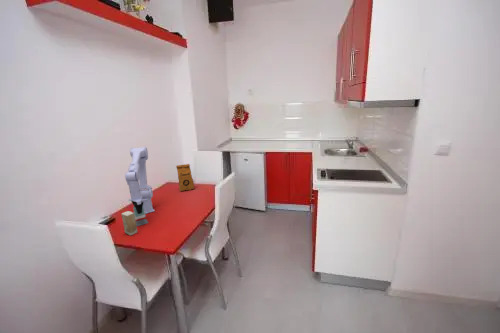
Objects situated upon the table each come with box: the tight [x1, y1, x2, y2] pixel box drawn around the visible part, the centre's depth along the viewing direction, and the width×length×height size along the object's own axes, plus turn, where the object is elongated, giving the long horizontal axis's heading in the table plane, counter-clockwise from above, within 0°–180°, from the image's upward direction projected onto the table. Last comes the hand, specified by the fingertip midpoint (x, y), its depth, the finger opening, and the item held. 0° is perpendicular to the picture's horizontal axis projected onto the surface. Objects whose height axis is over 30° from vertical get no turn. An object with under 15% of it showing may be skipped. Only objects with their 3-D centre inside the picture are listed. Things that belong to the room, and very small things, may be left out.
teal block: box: [132, 205, 146, 217], centre depth 148 cm, size 5×5×5 cm
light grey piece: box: [134, 211, 146, 221], centre depth 150 cm, size 13×12×4 cm
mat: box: [136, 218, 149, 227], centre depth 150 cm, size 7×7×1 cm
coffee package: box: [175, 163, 195, 192], centre depth 203 cm, size 10×12×22 cm
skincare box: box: [121, 210, 138, 236], centre depth 137 cm, size 6×4×12 cm
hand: (139, 212), depth 148 cm, fingers closed on teal block, 5 cm apart
